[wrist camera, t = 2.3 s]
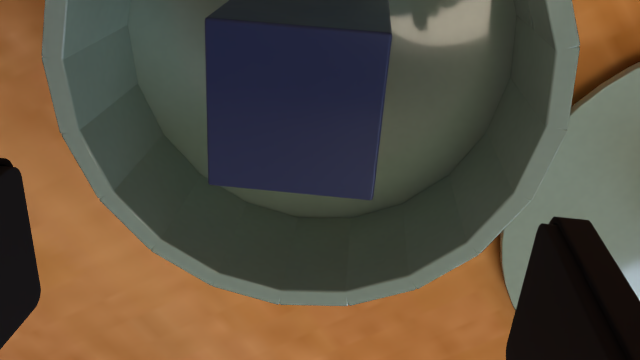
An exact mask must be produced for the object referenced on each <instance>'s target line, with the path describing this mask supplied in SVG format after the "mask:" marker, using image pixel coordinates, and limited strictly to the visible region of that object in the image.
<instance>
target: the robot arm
mask: <svg viewBox="0 0 640 360" xmlns="http://www.w3.org/2000/svg"><path fill="white" fill-rule="evenodd" d="M40 292H41V288H40V281H39V275H38V270H37V264H36V258H35V252H34V246H33V240H32V234H31V228H30V223H29V217H28V211H27V205H26V199H25V193H24V187H23V181H22V176H21V173H20V171H19V169H17V168H16V167H13V165H12V164H11V162H10V161H9V160H8V159H5V158H0V349H1V348H2V347H3V345H4V344H5V343H6V342H7V341H8V340H9V338H10V337H11V336H12V335H13V334H14V332H15V331H16V330H17V329H18V328H19V326H20V325H21V324H22V323H23V322H24V321H25V319H26V318H27V317H28V316H29V315H30V313H31V312H32V311H33V310H34V309H35V307H36V306H37V304H38V301H39V298H40ZM506 360H640V300H639V299H638V297H637V295H636V294H635V292H634V291H633V289H632V287H631V286H630V284H629V283H628V281H627V279H626V278H625V276H624V275H623V273H622V271H621V270H620V268H619V267H618V265H617V263H616V262H615V260H614V258H613V257H612V255H611V254H610V252H609V250H608V249H607V247H606V246H605V244H604V242H603V241H602V239H601V238H600V236H599V234H598V233H597V231H596V230H595V228H594V226H593V225H592V223H591V222H590V221H589V220H583V219H574V218H564V217H555V216H554V217H553V218H552V219H551V221H550V222H549V224H543V223H541V224H540V225H539V227H538V229H537V232H536V236H535V240H534V244H533V247H532V251H531V255H530V259H529V262H528V266H527V270H526V274H525V278H524V281H523V285H522V289H521V293H520V296H519V300H518V304H517V308H516V311H515V315H514V319H513V323H512V327H511V330H510V334H509V338H508V342H507V347H506Z"/></svg>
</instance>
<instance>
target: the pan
mask: <svg viewBox="0 0 640 360" xmlns="http://www.w3.org/2000/svg"><path fill="white" fill-rule="evenodd" d="M228 1H229V0H45V11H44V27H43V42H42V56H43V57H42V61H43V65H44V69H45V74H46V78H47V82H48V86H49V90H50V94H51V98H52V102H53V106H54V110H55V114H56V118H57V122H58V126H59V130H60V133H62V137H63V139H64V140H65V142H66V144H67V145H68V147H69V149H70V151H71V152H72V154H73V156H74V158H75V159H76V161H77V163H78V164H79V166H80V168H81V170H82V171H83V173H84V175H85V177H86V178H87V180H88V182H89V183H90V185H91V187H92V189H93V190H94V192H95V194H96V196H97V197H98V198H100V201H101V202H102V203H103V204H104V205H105V206H106V207H107V208H108V209H109V210H110V211H111V212H112V213H113V214H114V215H115V216H116V217H117V218H118V219H119V220H120V221H121V222H122V223H123V224H124V225H125V226H126V227H127V228H128V229H129V230H130V231H131V232H132V233H133V234H134V235H135V236H136V237H137V238H138V239H139V240H140V241H141V242H142V243H143V244H144V245H145V246H146V247H147V248H149V249H151V251H152V252H154V253H155V254H157V255H159V256H161V257H162V258H164V259H166V260H168V261H169V262H171V263H173V264H174V265H176V266H178V267H180V268H181V269H183V270H185V271H187V272H188V273H190V274H192V275H194V276H195V277H197V278H199V279H200V280H202V281H204V282H206V283H207V284H209V285H212V286H213V287H217V288H220V289H224V290H228V291H231V292H235V293H238V294H242V295H245V296H249V297H253V298H256V299H260V300H263V301H267V302H270V303H274V304H279V303H280V304H281V305H320V306H348V305H350V306H351V305H355V304H359V303H363V302H367V301H371V300H376V299H380V298H384V297H388V296H392V295H396V294H400V293H404V292H408V291H413V290H415V289H419V288H420V287H422V286H424V285H426V284H428V283H429V282H431V281H433V280H435V279H437V278H438V277H440V276H442V275H444V274H445V273H447V272H449V271H451V270H453V269H454V268H456V267H458V266H460V265H462V264H463V263H465V262H467V261H469V260H470V259H472V258H474V257H476V256H478V254H479V253H481V252H482V251H483V250H484V249H485V248H486V247H487V246H488V245H489V244H490V243H491V242H492V241H493V240H494V239H495V238H496V237H497V236H498V235H499V234H500V233H501V232H502V231H503V230H504V229H505V228H506V227H507V226H508V225H509V224H510V223H511V222H512V221H513V220H514V218H515V217H516V216H517V215H518V214H519V213H520V212H521V211H522V210H523V209H524V208H525V207H526V206H527V205H528V204H529V203H530V202H531V200H533V198H534V196H535V194H536V192H537V190H538V188H539V186H540V184H541V182H542V180H543V178H544V177H545V175H546V173H547V171H548V169H549V167H550V165H551V163H552V161H553V159H554V157H555V155H556V153H557V151H558V149H559V147H560V145H561V143H562V141H563V139H564V137H565V135H566V133H567V128H568V125H569V118H570V111H571V104H572V98H573V91H574V84H575V77H576V71H577V64H578V57H579V51H580V47H579V45H580V40H579V35H578V30H577V25H576V19H575V14H574V9H573V4H572V0H389V9H390V19H391V29H392V42H391V51H390V59H389V68H388V76H387V85H386V93H385V102H384V111H383V119H382V128H381V136H380V145H379V154H378V162H377V171H376V179H375V188H374V197H373V199H372V200H361V199H351V198H340V197H330V196H320V195H309V194H299V193H289V192H278V191H268V190H257V189H247V188H237V187H226V186H216V185H209V183H208V154H207V109H206V63H205V18H206V17H207V16H209V15H210V14H211V13H213V12H214V11H215V10H217V9H218V8H219V7H221V6H222V5H223V4H225V3H226V2H228Z"/></svg>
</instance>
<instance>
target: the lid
mask: <svg viewBox="0 0 640 360" xmlns="http://www.w3.org/2000/svg"><path fill="white" fill-rule="evenodd" d="M554 216H555V217H564V218H574V219H583V220H589V221H590V222H591V223H592V225H593V226H594V228H595V230H596V231H597V233H598V234H599V236H600V238H601V239H602V241H603V242H604V244H605V246H606V247H607V249H608V250H609V252H610V254H611V255H612V257H613V258H614V260H615V262H616V263H617V265H618V267H619V268H620V270H621V271H622V273H623V275H624V276H625V278H626V279H627V281H628V283H629V284H630V286H631V287H632V289H633V291H634V292H635V294H636V295H637V297H638V299H639V300H640V62H638V63H636V64H634V65H632V66H630V67H628V68H626V69H625V70H623V71H621V72H620V73H618V74H616V75H615V76H613V77H611V78H610V79H608V80H606V81H605V82H603V83H602V84H600V85H599V86H597V87H596V88H595V89H594V90H592V91H591V92H590V93H588V94H587V95H586V96H584V97H583V98H582V99H580V100H579V101H578V102H577V103H575V104H574V105H573V106H572V107H571V111H570V118H569V125H568V128H567V133H566V135H565V137H564V139H563V141H562V143H561V145H560V147H559V149H558V151H557V153H556V155H555V157H554V159H553V161H552V163H551V165H550V167H549V169H548V171H547V173H546V175H545V177H544V178H543V180H542V182H541V184H540V186H539V188H538V190H537V192H536V194H535V196H534V198H533V200H531V202H530V203H529V204H528V205H527V206H526V207H525V208H524V209H523V210H522V211H521V212H520V213H519V214H518V215H517V216H516V217H515V218H514V220H513V221H512V222H511V223H510V224H509V225H508V226H507V227H506V228H505V229H504V230H503V231H502V232H501V235H500V261H501V266H502V272H503V278H504V282H505V285H506V288H507V291H508V294H509V297H510V299H511V302H512V305H513V306H514V308H515V310H516V308H517V304H518V300H519V296H520V293H521V289H522V285H523V281H524V278H525V274H526V270H527V266H528V262H529V259H530V255H531V251H532V247H533V244H534V240H535V236H536V232H537V229H538V227H539V225H540V224H541V223H543V224H549V222H550V221H551V219H552V218H553V217H554Z"/></svg>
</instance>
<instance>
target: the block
mask: <svg viewBox="0 0 640 360" xmlns="http://www.w3.org/2000/svg"><path fill="white" fill-rule="evenodd" d="M391 42H392V29H391V19H390V9H389V0H229V1H228V2H226V3H225V4H223V5H222V6H221V7H219V8H218V9H217V10H215V11H214V12H213V13H211V14H210V15H209V16H207V17H206V18H205V63H206V109H207V154H208V183H209V185H216V186H226V187H237V188H247V189H257V190H268V191H278V192H289V193H299V194H309V195H320V196H330V197H340V198H351V199H361V200H372V199H373V197H374V188H375V179H376V171H377V162H378V154H379V145H380V136H381V128H382V119H383V111H384V102H385V93H386V85H387V76H388V68H389V59H390V51H391Z"/></svg>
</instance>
